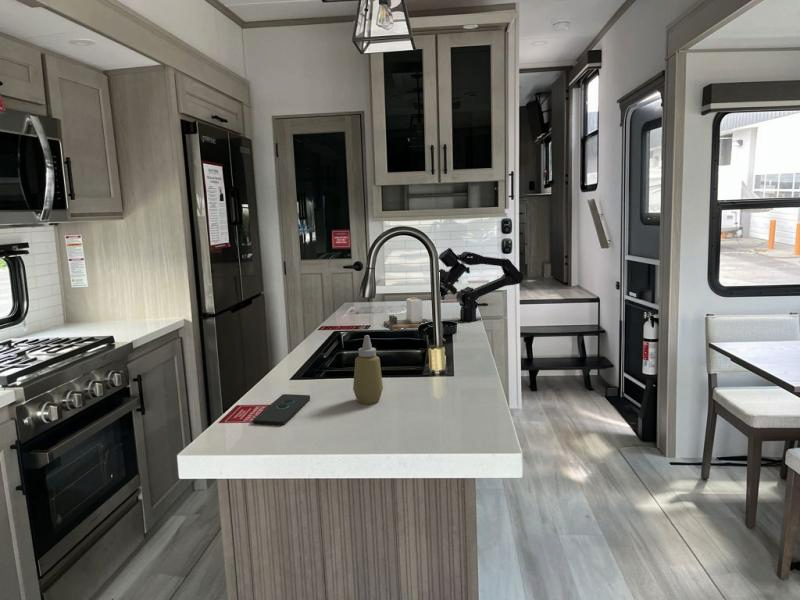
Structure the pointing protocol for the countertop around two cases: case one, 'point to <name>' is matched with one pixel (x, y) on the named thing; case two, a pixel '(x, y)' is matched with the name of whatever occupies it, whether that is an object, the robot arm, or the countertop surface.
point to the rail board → (401, 323)
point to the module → (414, 310)
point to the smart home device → (282, 410)
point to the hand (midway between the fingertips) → (431, 300)
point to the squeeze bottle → (367, 374)
